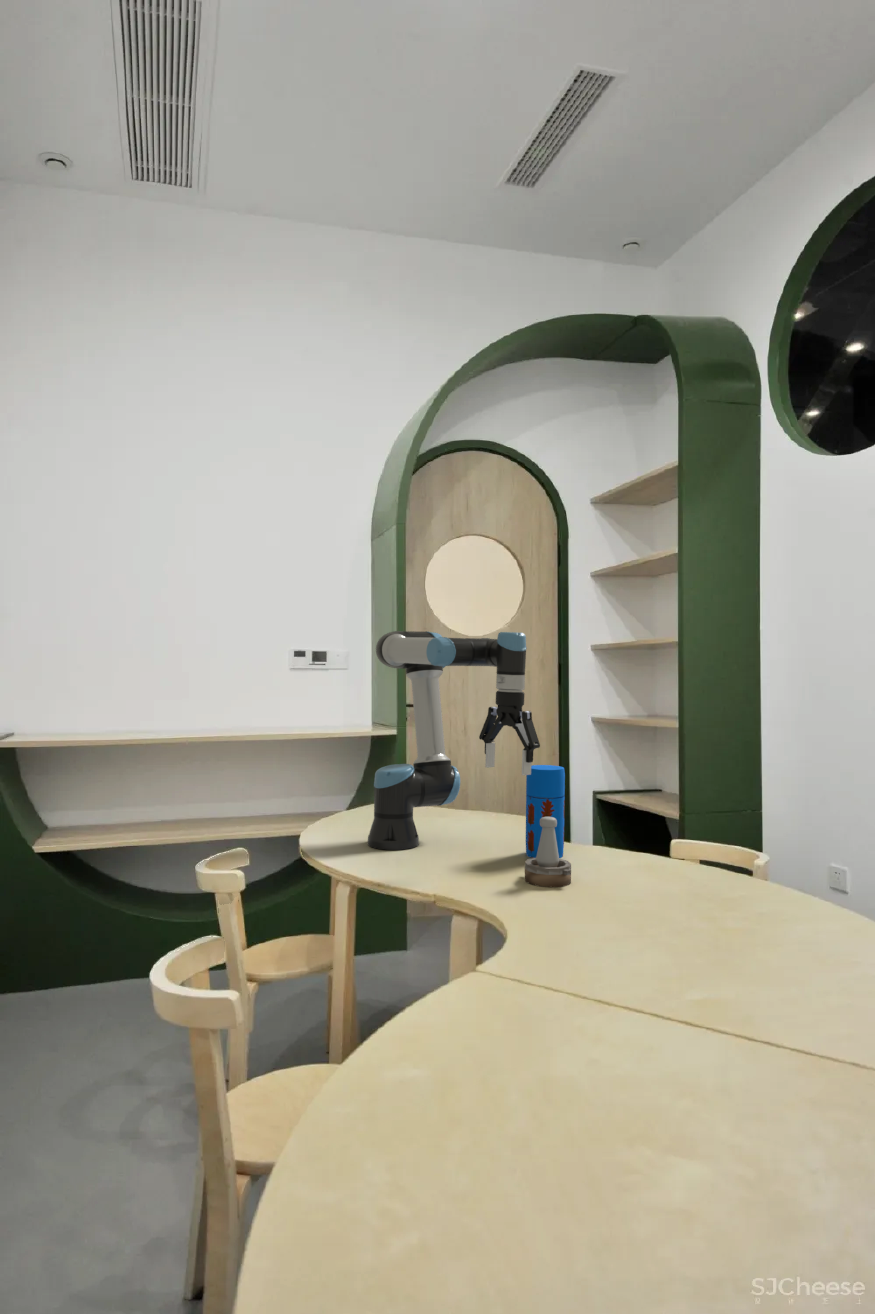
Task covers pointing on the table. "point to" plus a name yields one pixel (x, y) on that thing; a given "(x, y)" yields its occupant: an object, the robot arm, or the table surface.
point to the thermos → (544, 805)
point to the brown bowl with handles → (548, 874)
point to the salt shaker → (548, 844)
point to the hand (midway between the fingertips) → (507, 770)
